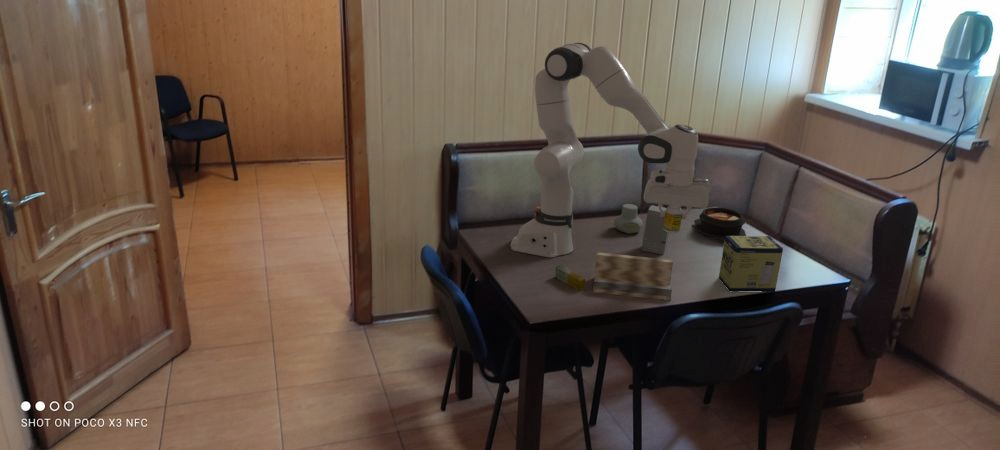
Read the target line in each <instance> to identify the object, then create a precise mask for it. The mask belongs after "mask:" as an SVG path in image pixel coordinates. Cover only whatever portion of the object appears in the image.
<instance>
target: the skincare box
mask: <svg viewBox="0 0 1000 450" xmlns="http://www.w3.org/2000/svg"><path fill="white" fill-rule="evenodd" d="M666 208H667V207H665V206H663V207H662V210H663V211H666ZM660 213H661V212H660V209H659V207H658V205H653V204H652V205H650V206H649V208H648V209H647V215H646V219H645V226H644V227H645V228H644V232H643V239H642V242H641V243H642V244H641V251H642V252H647V253H652V254H659V255H665V252H666V251H667V246H668V241H669V237H670V236H669V235H670V233H669V232H666V231H665V230H664V229H663V226H664V219H665V217H660Z"/></svg>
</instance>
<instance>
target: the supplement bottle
mask: <svg viewBox="0 0 1000 450" xmlns="http://www.w3.org/2000/svg"><path fill="white" fill-rule="evenodd" d="M665 208H666V211H665V212H666V213H665V219H664V226H663V229H664V230H665V231H666V232H669V234H670V233H671V234H676V233H679V232H680V230H681V226H682V220H683V219H682V212H683V209H682V206H679V205H677V204H672V205H667V207H665Z"/></svg>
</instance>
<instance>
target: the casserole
mask: <svg viewBox="0 0 1000 450" xmlns="http://www.w3.org/2000/svg"><path fill="white" fill-rule="evenodd" d="M698 217H699V218H697V219H695V220H693V221H694V223H695V229H696V231H698V232H699V233H700V234H703V235H705V236H707V237H710V238H714V239H716V240H718V241H720V242H721V241H722V242H724V241H725V236H747V234H746V231H745V229H743V225H745V224H746V221H745V219H744V216H743V214H742V213H740V212H739V211H736V210H734V209H730V208H725V207H724V208H723V207H709V208H707V207H706V208H703V210H702V212H701V213H700V214H699V215H698Z"/></svg>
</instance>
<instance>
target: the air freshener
mask: <svg viewBox="0 0 1000 450" xmlns="http://www.w3.org/2000/svg"><path fill="white" fill-rule="evenodd" d="M638 210H639V206H638V205H635V204H632V203H625V204H623V205H622V206H621V214H620V215H618V216H616V217H615V218H614V221H613V225H614V227H615V228H616V230H618V231H620V232H621V233H625V234H627V235H628V234H629V235H630V234H635V233H637V232H639V231H641V229H643V225H644V223H643V220H642V219H641V218H640V216H638V212H639V211H638Z"/></svg>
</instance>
